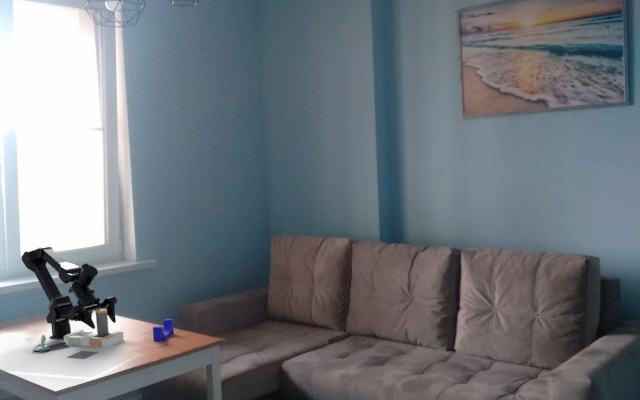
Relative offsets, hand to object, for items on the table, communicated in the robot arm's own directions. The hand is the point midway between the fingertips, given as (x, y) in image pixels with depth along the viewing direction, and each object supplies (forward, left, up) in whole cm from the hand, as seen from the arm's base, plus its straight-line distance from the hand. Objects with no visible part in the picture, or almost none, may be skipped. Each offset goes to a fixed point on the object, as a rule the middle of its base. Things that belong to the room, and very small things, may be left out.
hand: (104, 325), depth 249 cm
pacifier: (-19, -12, -8) cm, 24 cm away
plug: (-1, 0, -7) cm, 7 cm away
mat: (+1, -14, -7) cm, 16 cm away
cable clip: (+17, +12, -8) cm, 22 cm away
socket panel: (-6, 0, -7) cm, 9 cm away
